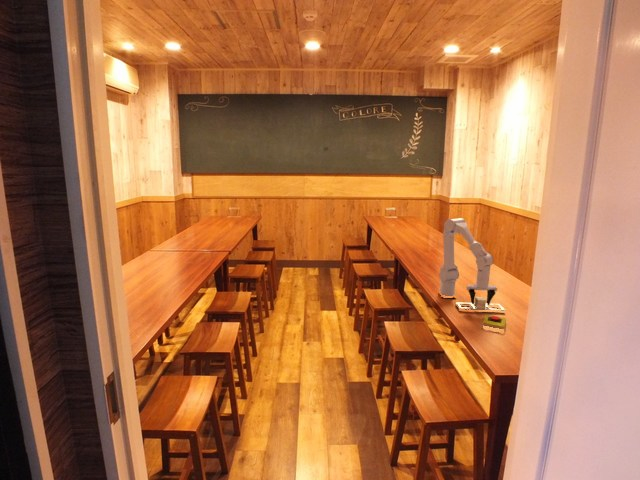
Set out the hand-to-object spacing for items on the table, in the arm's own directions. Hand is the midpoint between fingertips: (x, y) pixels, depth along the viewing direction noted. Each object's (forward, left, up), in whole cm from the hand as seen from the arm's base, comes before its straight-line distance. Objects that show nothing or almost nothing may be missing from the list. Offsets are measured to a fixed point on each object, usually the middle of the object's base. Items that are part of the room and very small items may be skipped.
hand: (480, 303), depth 201 cm
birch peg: (0, 0, -3) cm, 3 cm away
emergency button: (+20, +1, -4) cm, 20 cm away
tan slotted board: (0, 0, -3) cm, 3 cm away
